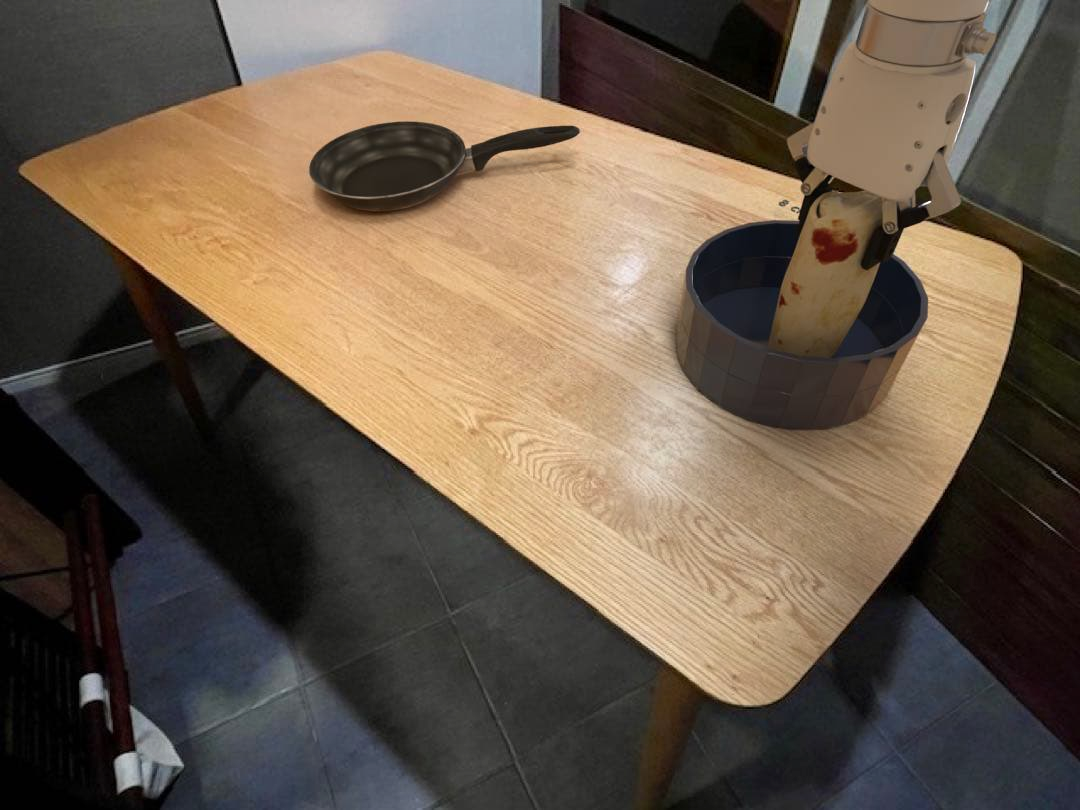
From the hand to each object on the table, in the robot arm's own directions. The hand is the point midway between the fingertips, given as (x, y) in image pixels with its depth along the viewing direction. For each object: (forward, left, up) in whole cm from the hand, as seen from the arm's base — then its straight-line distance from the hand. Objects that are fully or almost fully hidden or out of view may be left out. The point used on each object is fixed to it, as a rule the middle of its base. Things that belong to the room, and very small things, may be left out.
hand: (840, 245), depth 59 cm
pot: (+4, -3, -18) cm, 18 cm away
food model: (0, 0, -15) cm, 15 cm away
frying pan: (+67, +7, -18) cm, 70 cm away
